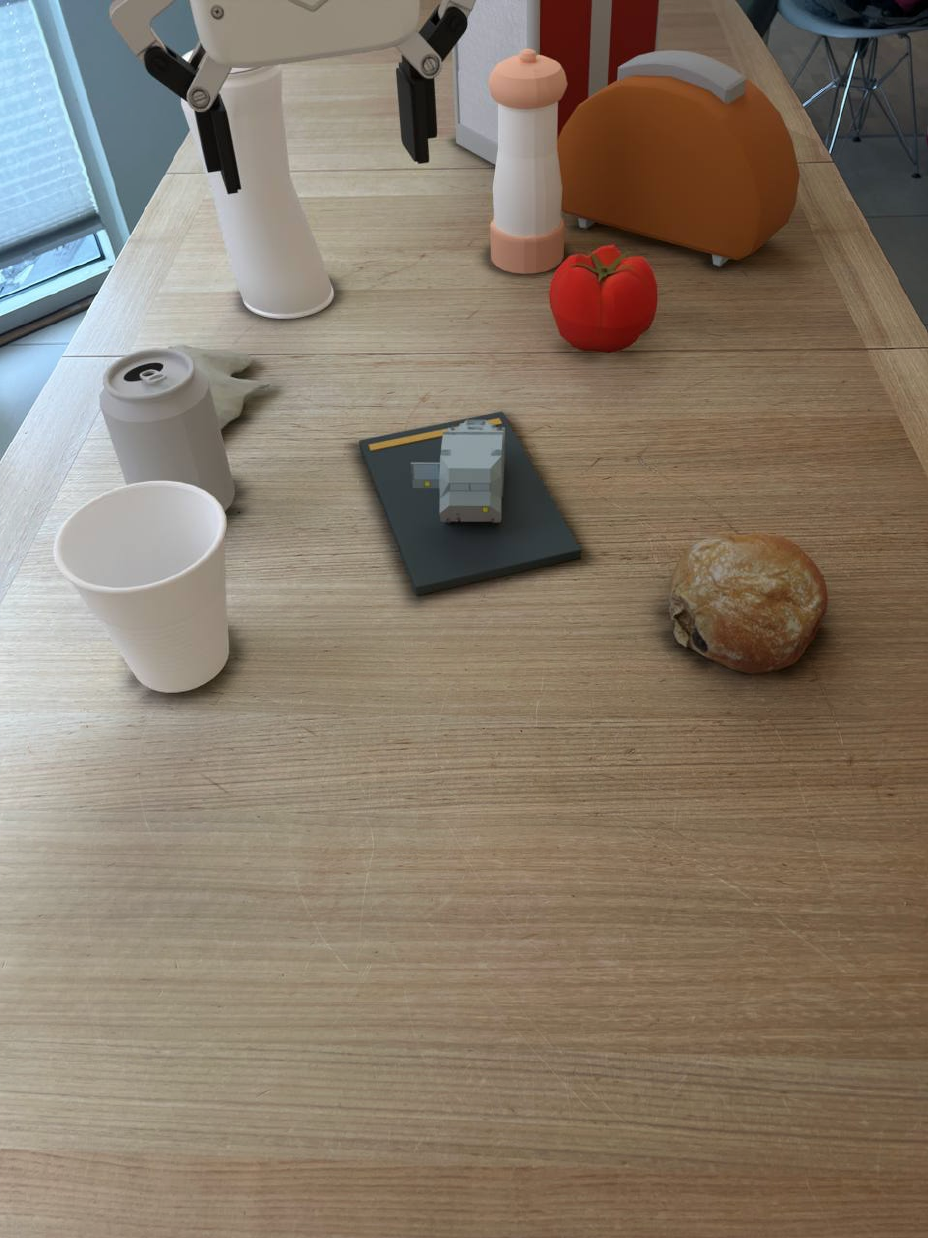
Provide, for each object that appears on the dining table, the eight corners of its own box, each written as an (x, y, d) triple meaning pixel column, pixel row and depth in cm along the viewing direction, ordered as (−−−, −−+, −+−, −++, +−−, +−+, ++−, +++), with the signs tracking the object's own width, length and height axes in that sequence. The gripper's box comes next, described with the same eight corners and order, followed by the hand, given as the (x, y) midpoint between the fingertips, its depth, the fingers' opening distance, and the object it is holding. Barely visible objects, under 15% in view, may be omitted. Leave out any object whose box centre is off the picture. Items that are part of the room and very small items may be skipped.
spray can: (204, 317, 101) (136, 27, 83) (234, 264, 108) (177, -13, 91) (324, 320, 100) (281, 26, 82) (346, 265, 107) (310, -15, 90)
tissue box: (452, 141, 129) (439, -128, 110) (568, 106, 135) (576, -154, 116) (532, 186, 119) (534, -102, 100) (654, 146, 125) (678, -131, 106)
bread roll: (649, 639, 74) (621, 586, 67) (745, 532, 75) (727, 469, 68) (763, 721, 69) (745, 672, 62) (866, 604, 69) (859, 544, 63)
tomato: (668, 329, 96) (677, 250, 91) (621, 376, 91) (627, 295, 86) (578, 303, 100) (581, 226, 95) (528, 346, 95) (528, 267, 90)
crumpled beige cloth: (136, 354, 95) (96, 459, 84) (131, 319, 92) (90, 424, 82) (277, 366, 96) (255, 472, 85) (276, 332, 93) (253, 437, 83)
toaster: (791, 242, 107) (824, 63, 95) (750, 279, 102) (780, 95, 90) (591, 190, 117) (599, 23, 106) (546, 221, 112) (548, 49, 101)
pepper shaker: (574, 246, 108) (581, 40, 95) (547, 279, 104) (551, 67, 90) (508, 235, 111) (506, 32, 97) (479, 266, 106) (472, 58, 92)
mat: (416, 596, 73) (415, 586, 72) (359, 448, 85) (358, 438, 85) (581, 558, 75) (581, 548, 74) (502, 418, 87) (502, 409, 87)
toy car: (505, 451, 83) (504, 398, 79) (501, 535, 76) (499, 481, 72) (423, 451, 83) (418, 398, 80) (411, 535, 76) (405, 480, 73)
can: (205, 464, 84) (169, 328, 76) (256, 508, 80) (224, 369, 72) (120, 505, 81) (72, 368, 73) (168, 553, 77) (124, 414, 69)
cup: (75, 701, 67) (17, 573, 60) (152, 596, 74) (109, 468, 66) (217, 734, 65) (175, 605, 57) (283, 622, 72) (254, 493, 64)
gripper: (46, -233, 38) (161, 226, 51) (503, -272, 41) (508, 170, 54) (44, -256, 44) (148, 166, 56) (450, -290, 47) (465, 118, 59)
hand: (324, 168), depth 55 cm, fingers open, 9 cm apart
